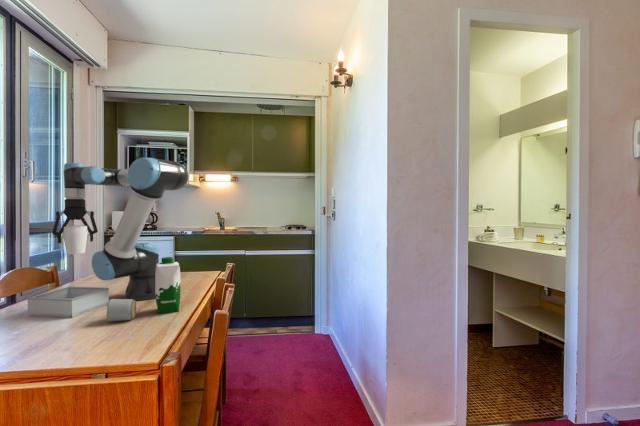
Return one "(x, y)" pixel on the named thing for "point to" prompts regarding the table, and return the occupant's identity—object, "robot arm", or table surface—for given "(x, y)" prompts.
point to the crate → (68, 302)
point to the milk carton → (167, 285)
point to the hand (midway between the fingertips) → (75, 249)
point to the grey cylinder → (121, 310)
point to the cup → (75, 239)
